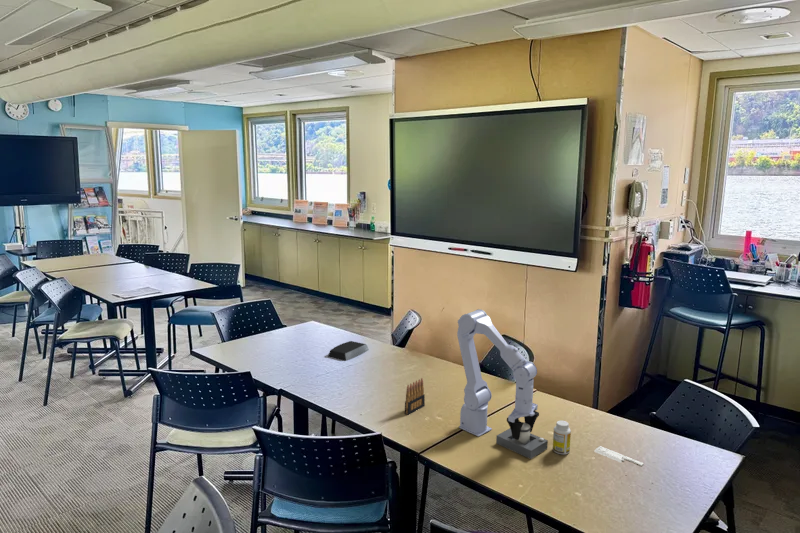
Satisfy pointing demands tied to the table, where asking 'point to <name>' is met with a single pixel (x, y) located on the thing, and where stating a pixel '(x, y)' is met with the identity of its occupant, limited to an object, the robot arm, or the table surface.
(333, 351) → the external hard drive
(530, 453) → the grey panel with knob
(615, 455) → the white plastic blade
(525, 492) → the table surface
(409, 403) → the ammunition clip
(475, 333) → the robot arm
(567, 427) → the supplement bottle
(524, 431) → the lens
